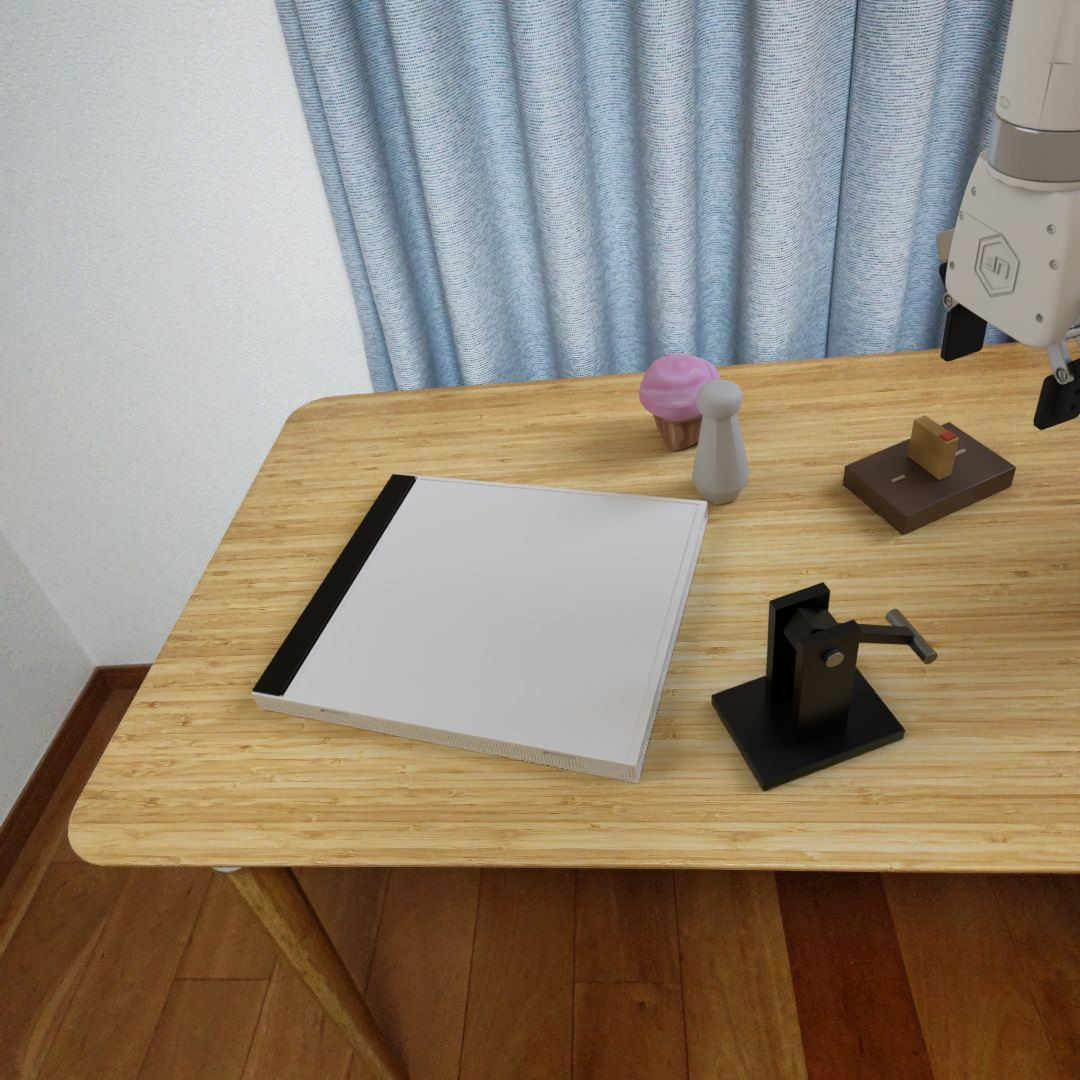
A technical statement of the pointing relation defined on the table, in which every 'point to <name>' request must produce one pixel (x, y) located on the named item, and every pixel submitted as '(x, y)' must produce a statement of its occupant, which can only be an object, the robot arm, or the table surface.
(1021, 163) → the robot arm
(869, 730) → the handle bracket
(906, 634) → the door handle
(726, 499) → the salt shaker
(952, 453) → the thumb turn
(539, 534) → the cd case
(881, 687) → the table surface
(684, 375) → the cupcake
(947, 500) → the plate
